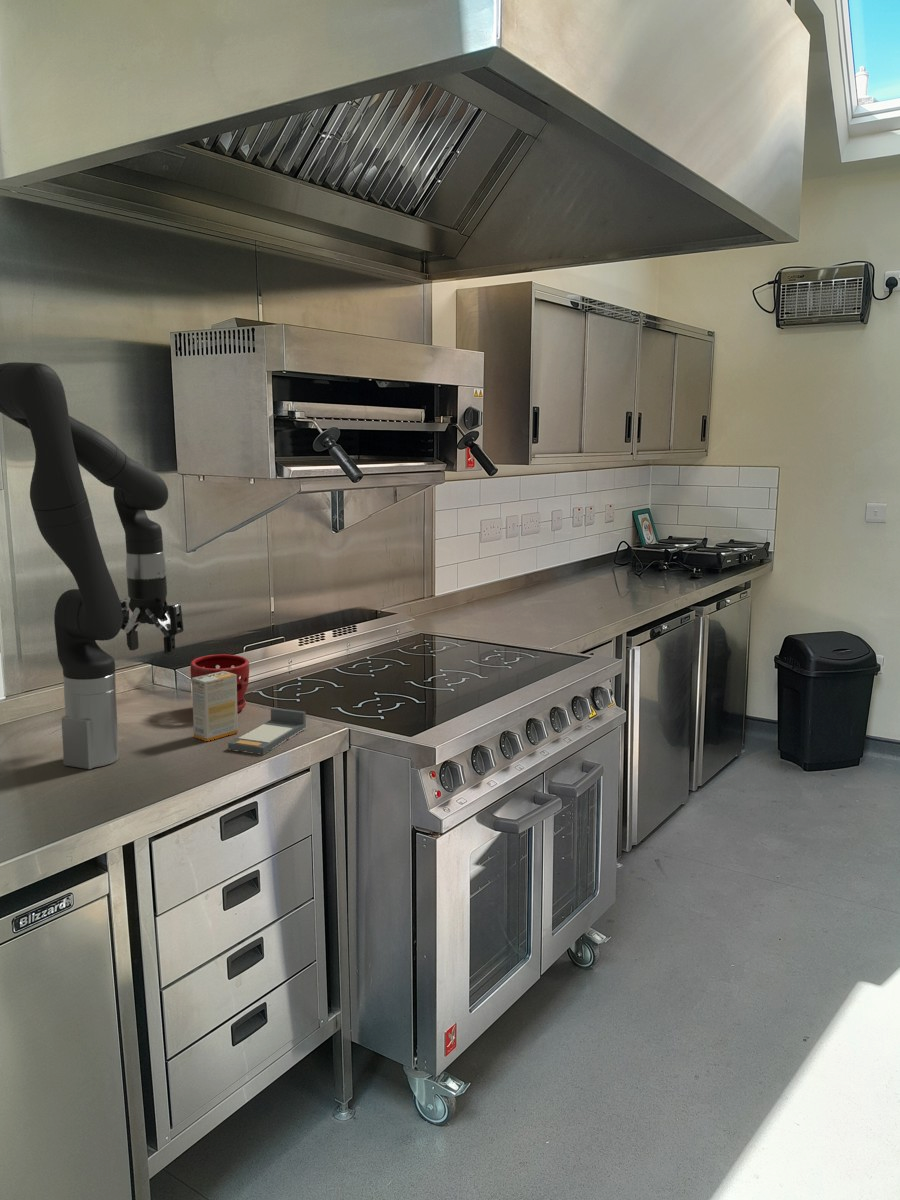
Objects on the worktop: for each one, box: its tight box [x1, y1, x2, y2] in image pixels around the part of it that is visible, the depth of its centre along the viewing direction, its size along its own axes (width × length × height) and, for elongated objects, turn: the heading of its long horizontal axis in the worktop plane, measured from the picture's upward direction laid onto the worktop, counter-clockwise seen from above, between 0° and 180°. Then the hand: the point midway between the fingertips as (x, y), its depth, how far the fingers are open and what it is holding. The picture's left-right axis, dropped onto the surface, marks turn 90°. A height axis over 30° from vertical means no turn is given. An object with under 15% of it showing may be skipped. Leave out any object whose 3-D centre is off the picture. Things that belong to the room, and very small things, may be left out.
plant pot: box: [190, 653, 250, 713], centre depth 207 cm, size 13×13×12 cm
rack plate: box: [227, 707, 307, 755], centre depth 188 cm, size 18×8×4 cm, turn 161°
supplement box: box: [191, 671, 239, 742], centre depth 189 cm, size 8×5×13 cm, turn 141°
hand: (151, 651), depth 184 cm, fingers open, 8 cm apart
